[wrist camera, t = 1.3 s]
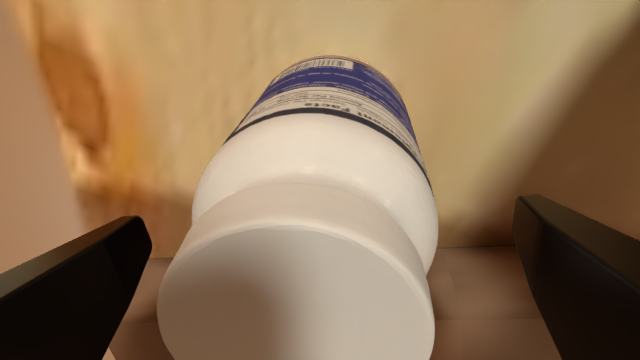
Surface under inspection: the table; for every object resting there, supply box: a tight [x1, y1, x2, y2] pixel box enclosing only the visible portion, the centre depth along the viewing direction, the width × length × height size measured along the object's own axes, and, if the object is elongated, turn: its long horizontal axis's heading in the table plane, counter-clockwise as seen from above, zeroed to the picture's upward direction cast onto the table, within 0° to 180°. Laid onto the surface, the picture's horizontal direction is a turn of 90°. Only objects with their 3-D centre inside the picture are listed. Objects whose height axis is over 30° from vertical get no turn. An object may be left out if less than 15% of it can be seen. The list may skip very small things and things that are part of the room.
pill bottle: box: [157, 54, 438, 360], centre depth 11 cm, size 6×6×10 cm
